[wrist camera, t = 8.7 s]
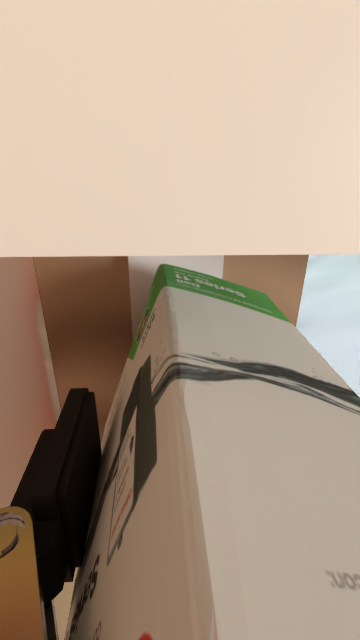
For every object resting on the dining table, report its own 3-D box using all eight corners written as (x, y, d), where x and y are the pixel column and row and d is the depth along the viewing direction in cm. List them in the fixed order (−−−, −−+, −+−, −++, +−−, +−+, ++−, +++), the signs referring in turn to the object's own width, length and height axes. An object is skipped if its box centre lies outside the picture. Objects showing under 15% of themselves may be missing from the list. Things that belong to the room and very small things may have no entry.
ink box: (157, 255, 12) (237, 1073, 1) (272, 294, 13) (897, 899, 2) (99, 428, 15) (-29, 1075, 4) (195, 448, 16) (289, 1004, 5)
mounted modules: (228, 517, 20) (270, 704, 13) (114, 526, 20) (93, 726, 13) (286, 11, 10) (628, -405, 3) (53, -1, 10) (-258, -559, 2)
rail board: (255, 491, 23) (265, 519, 21) (86, 502, 22) (80, 533, 20) (331, 23, 12) (364, -5, 10) (3, 6, 11) (-28, -29, 9)
